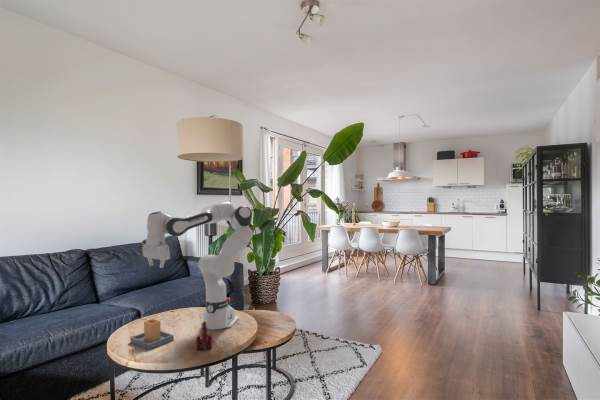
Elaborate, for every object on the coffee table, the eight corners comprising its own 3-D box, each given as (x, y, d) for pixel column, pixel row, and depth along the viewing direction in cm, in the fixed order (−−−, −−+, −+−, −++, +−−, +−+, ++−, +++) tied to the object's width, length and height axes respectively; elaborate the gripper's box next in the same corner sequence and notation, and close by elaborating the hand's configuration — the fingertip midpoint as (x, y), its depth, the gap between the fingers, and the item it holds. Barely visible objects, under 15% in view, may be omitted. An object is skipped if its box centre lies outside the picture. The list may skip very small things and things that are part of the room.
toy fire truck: (196, 353, 160) (196, 330, 160) (196, 342, 172) (196, 321, 172) (212, 351, 162) (211, 329, 162) (211, 340, 174) (211, 320, 174)
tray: (130, 342, 172) (130, 337, 172) (155, 333, 183) (155, 328, 183) (148, 349, 163) (148, 344, 163) (173, 340, 175) (173, 335, 175)
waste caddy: (144, 339, 173) (144, 321, 173) (153, 336, 177) (153, 318, 177) (151, 342, 170) (151, 323, 170) (160, 338, 174) (160, 320, 174)
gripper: (172, 241, 186) (173, 267, 186) (150, 239, 198) (150, 263, 198) (162, 243, 181) (162, 269, 181) (140, 240, 192) (140, 265, 193)
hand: (156, 266), depth 189 cm, fingers open, 8 cm apart
